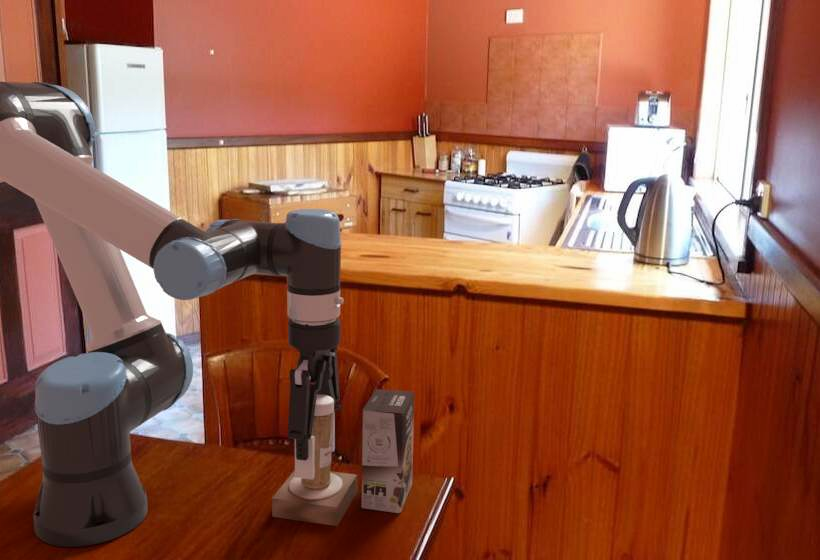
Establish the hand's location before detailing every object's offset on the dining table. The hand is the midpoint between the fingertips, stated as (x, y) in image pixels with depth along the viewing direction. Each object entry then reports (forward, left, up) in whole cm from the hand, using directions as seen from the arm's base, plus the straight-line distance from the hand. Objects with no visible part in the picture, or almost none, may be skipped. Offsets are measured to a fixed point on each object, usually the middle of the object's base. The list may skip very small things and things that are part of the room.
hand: (315, 462), depth 111 cm
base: (0, 0, -7) cm, 7 cm away
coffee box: (+10, +5, -7) cm, 13 cm away
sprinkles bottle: (0, 0, -4) cm, 4 cm away
